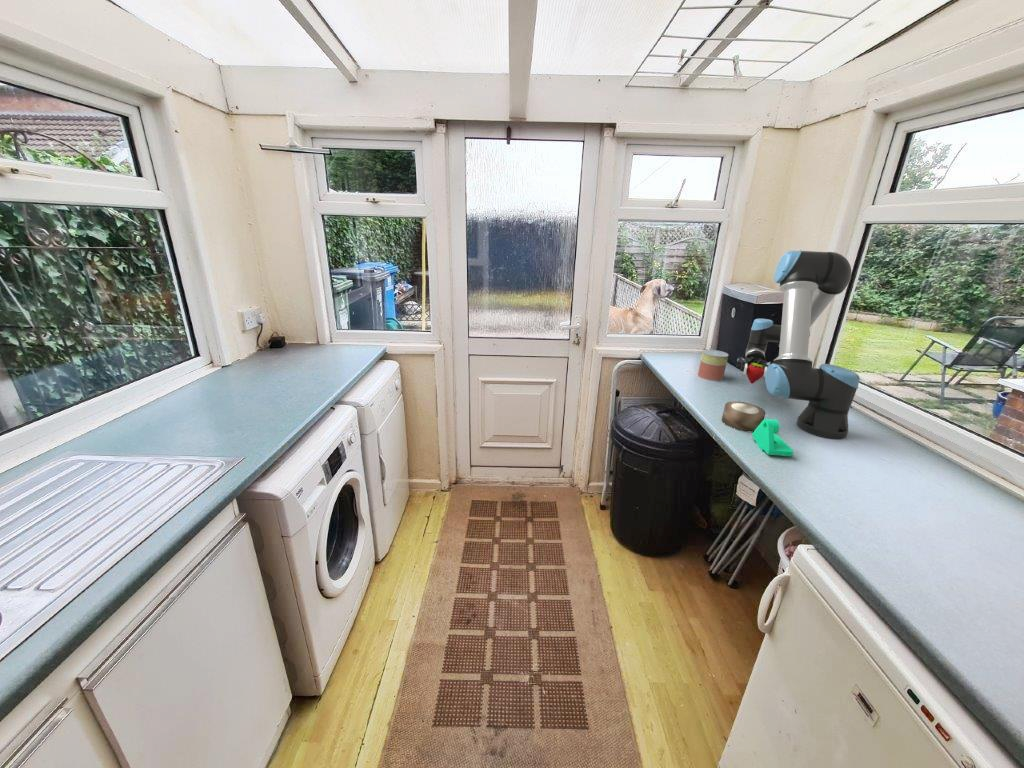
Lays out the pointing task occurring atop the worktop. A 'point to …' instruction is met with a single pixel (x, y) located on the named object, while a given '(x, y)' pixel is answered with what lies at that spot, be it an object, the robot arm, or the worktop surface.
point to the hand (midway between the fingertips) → (755, 372)
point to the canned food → (713, 365)
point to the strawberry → (754, 372)
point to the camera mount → (771, 439)
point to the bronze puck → (742, 415)
